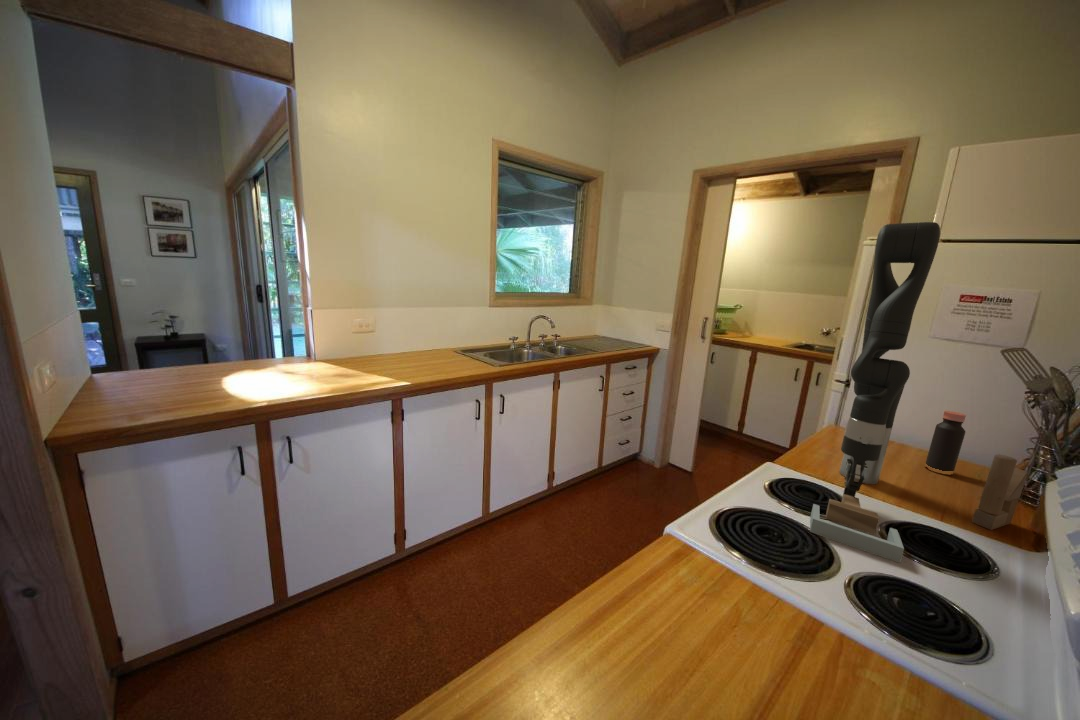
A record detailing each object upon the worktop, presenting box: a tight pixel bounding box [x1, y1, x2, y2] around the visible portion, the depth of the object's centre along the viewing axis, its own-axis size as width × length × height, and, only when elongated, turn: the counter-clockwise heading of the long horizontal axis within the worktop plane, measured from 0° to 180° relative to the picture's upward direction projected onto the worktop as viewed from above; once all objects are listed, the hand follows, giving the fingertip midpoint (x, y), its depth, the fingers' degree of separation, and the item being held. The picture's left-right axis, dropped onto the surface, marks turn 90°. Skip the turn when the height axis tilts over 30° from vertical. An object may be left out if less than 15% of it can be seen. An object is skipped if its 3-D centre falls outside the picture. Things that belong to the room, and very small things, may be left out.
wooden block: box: [971, 453, 1029, 531], centre depth 99 cm, size 4×11×18 cm, turn 113°
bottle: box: [925, 410, 967, 472], centre depth 130 cm, size 7×7×20 cm
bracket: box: [809, 503, 905, 564], centre depth 88 cm, size 8×15×3 cm, turn 55°
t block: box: [825, 494, 880, 536], centre depth 96 cm, size 9×9×4 cm
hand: (847, 501), depth 102 cm, fingers closed
